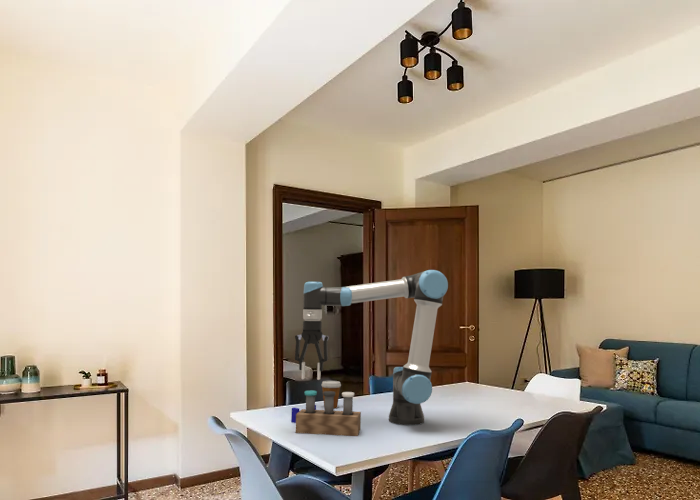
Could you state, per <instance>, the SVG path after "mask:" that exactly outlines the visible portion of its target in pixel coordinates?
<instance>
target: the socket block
mask: <svg viewBox="0 0 700 500" xmlns="http://www.w3.org/2000/svg"><path fill="white" fill-rule="evenodd" d="M361 412H362V411H353V410H352V415H343V410H334V413H333V414H324V409H316V410H315V414H313V413H306V408H303V409H301V410H300V409H299V412H298V413H297V414H296V423H295V434H308V435H309V434H311V435H329V436H331V435H332V436H346V437H347V436H349V437H359V433H360V432H361V429H362V427H361V423H362V422H361V420H362V417H361V416H362V414H361Z"/></svg>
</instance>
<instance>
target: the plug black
mask: <svg viewBox="0 0 700 500" xmlns="http://www.w3.org/2000/svg"><path fill="white" fill-rule="evenodd" d="M323 396H325V405H324V404H323V407H324V409H323V410H324V414H333V413H334V411H335V410H334V396H335V392H334V391H325V392H323V391H322V397H323Z"/></svg>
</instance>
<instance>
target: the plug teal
mask: <svg viewBox="0 0 700 500" xmlns="http://www.w3.org/2000/svg"><path fill="white" fill-rule="evenodd" d="M317 394H318V391H317V390H313V389H311V390H309V389H308V390H305V391H304V396H305V409H306V413H313V414H315V405H316V396H317Z"/></svg>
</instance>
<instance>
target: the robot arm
mask: <svg viewBox="0 0 700 500" xmlns="http://www.w3.org/2000/svg"><path fill="white" fill-rule="evenodd" d="M448 288H449V282H448V279H447V277H446V276H445V274H444V273H442V272H441V271H439V270H436V269H428V270H425V271H421V272H418V273H414V274H411V275H406V276H402V277H401V279H400V278H399V279H395V280H394V279H393V280H386V281H378V282H372V283H371V282H370V283H362V284H357V285H356V284H355V285H349V286H340V287H339V286H338V287H337V286H333V287H332V286H324V285H323V282H321V281H307V282H305V283H304V285H303V298H302V299H303V302H302V303H303V306H302V307H303V310H302V313H303V314H302V319H303V321H302V332H301V334H296V335H295V336H294V338H295V350H294V351H295V352H294V360H295V361H296V362H298V363H299V364H298V365H299V367H298V370H299V371H301V380H304V379H305V378H306V362H305V357H306V355H307V354H306V353H307V351H308V348H309V344H312V345H314V347H315V349H316V353H317V357H318V362H317V371H316V373H317V375H316V376H317V377H316V379H317V380H318V381H319V380H321V376H322V375H321V374H322V373H321V372H323V371H324V363H325V362H327V361H328V360H329V348H328V347H329V346H328V345H329V343H328V341H329V339H330V336H329V335H324V334H323V331H322V319H323V306H324V307H325V306H328V307H329V306H332V307H348V306H351V305H352V304H358V303H364V302H365V303H366V302H372V301H379V300H389V299H392V298H393V299H394V298H395V299H396V298H402V297H404V299H413V298H414V299H413V300H414V302H415V304H416V307H415V313H414V314H415V315H414V322H413V328H412V332H411V341H410V346H409V354H408V359H407V363H405V364H404V365H403V366H395V367H394V368H393V372H392V393H393V394H392V404H391V408H390V412H389V413H388V422H390V423H392V424H396V425H401V426H416V425H417V426H418V425H422V424H424V423H425V415H424V412H423V409H422V405H421V404H423V403H425V402H427V401H428V400H429V398H431V396H432V393H433V384H432V382H431V380H432V379H431V378H432V369H431V368H430V360H431V353H432V347H433V340H434V333H435V328H436V320H437V315H438V309H439V308H440V307H441V306H443V300H444V296H445V295H446V293H448V292H447V291H448ZM302 339H303V341H304V343H303V347H302V350H301V340H302ZM321 339H322V341H323V352H322V349H321V344H320V340H321ZM300 350H301V351H300ZM300 352H301V353H300Z"/></svg>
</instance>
